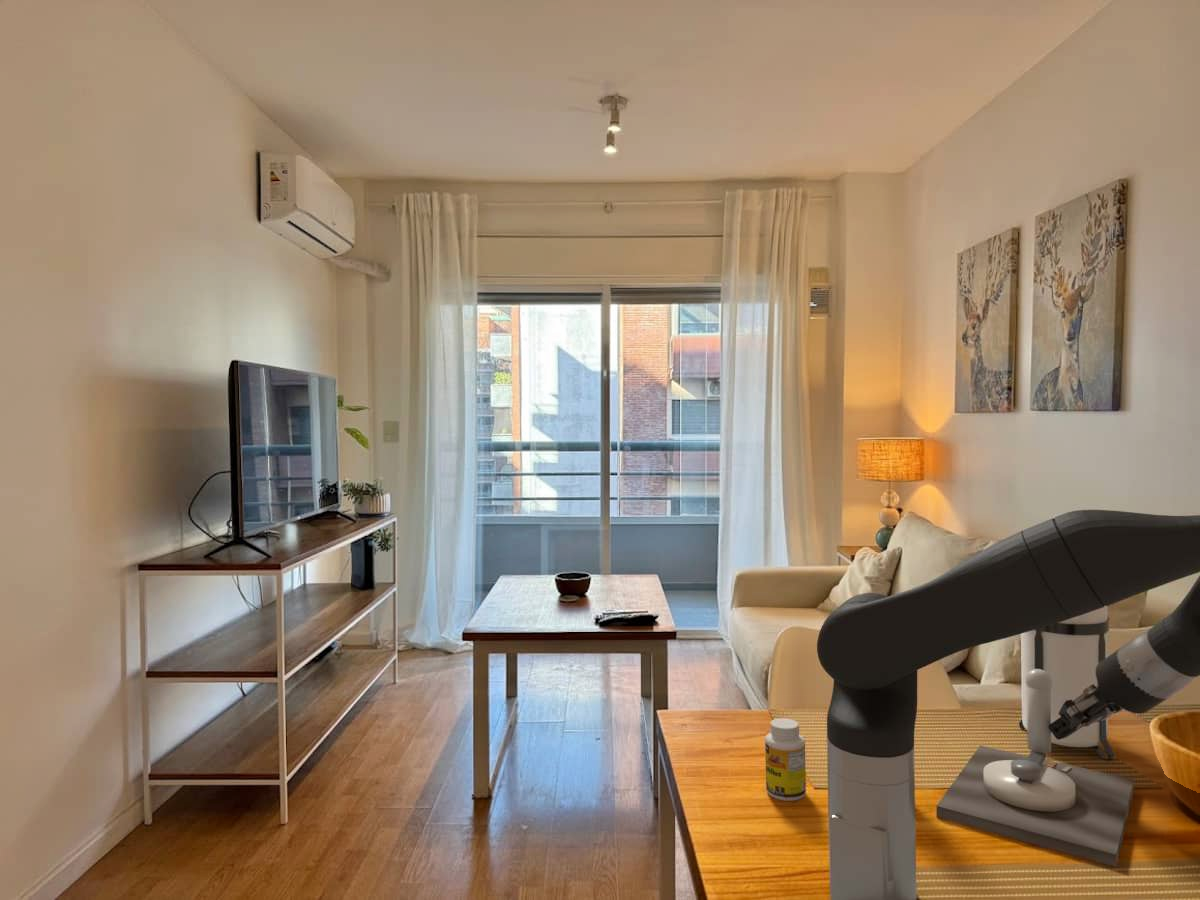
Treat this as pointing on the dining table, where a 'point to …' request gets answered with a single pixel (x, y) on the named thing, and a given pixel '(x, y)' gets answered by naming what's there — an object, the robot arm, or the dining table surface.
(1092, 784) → the dial board
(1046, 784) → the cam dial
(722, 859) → the dining table surface
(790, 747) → the supplement bottle
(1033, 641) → the coffee press
